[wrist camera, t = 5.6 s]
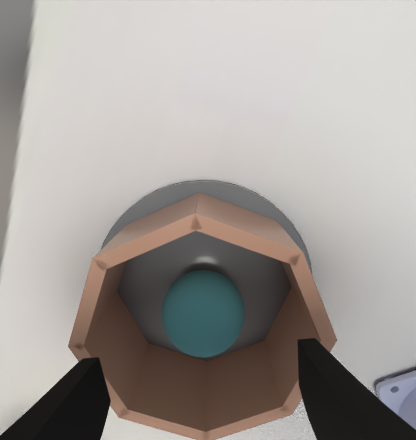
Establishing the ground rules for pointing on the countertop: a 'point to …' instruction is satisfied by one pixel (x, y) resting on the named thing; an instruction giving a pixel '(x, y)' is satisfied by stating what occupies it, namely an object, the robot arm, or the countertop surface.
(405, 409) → the robot arm
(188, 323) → the ball
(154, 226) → the octagonal bowl
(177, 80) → the countertop surface
